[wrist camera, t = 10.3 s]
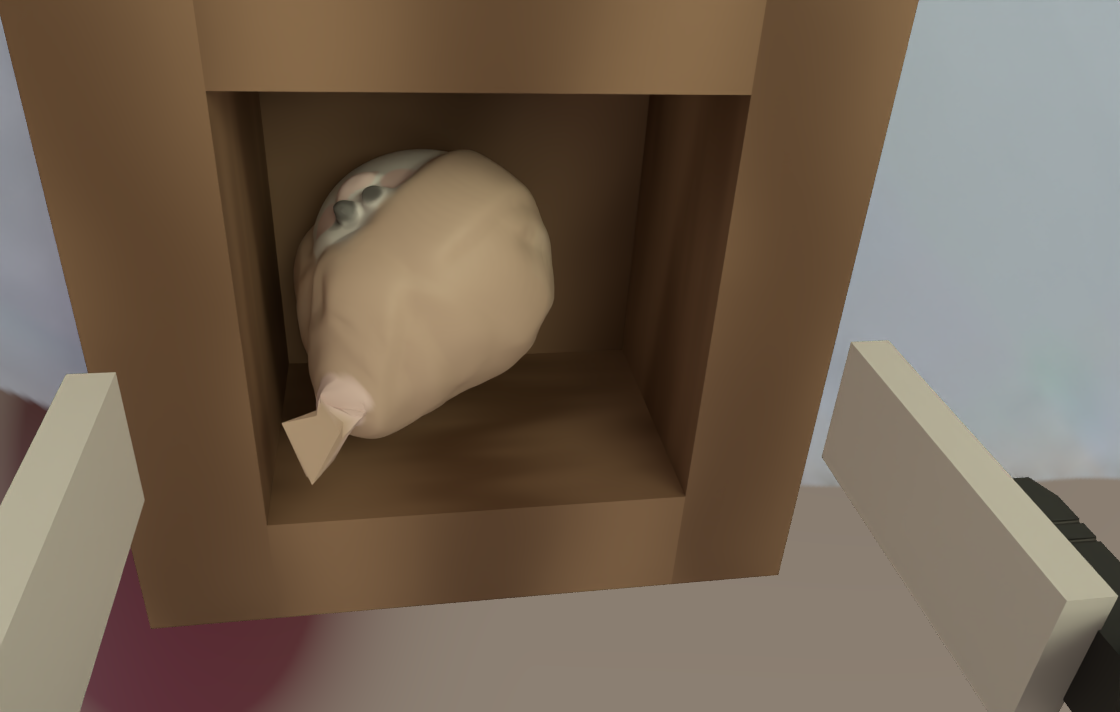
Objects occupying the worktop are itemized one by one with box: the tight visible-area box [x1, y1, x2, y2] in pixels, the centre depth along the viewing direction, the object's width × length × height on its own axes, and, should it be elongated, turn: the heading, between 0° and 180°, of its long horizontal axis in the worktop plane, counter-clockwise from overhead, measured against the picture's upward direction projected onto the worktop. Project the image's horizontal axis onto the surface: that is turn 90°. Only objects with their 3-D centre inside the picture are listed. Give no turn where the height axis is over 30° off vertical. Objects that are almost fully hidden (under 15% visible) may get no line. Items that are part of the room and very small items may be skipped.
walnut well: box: [0, 0, 919, 629], centre depth 23 cm, size 16×16×8 cm
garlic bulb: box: [282, 149, 554, 485], centre depth 22 cm, size 7×6×8 cm
